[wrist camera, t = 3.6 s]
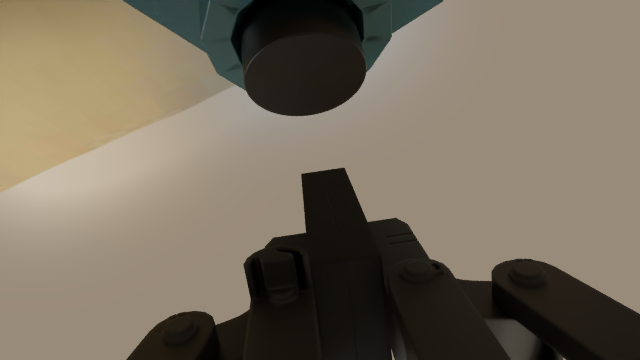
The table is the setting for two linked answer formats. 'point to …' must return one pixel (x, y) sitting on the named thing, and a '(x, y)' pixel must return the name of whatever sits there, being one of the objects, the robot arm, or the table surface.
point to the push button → (301, 55)
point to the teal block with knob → (232, 3)
